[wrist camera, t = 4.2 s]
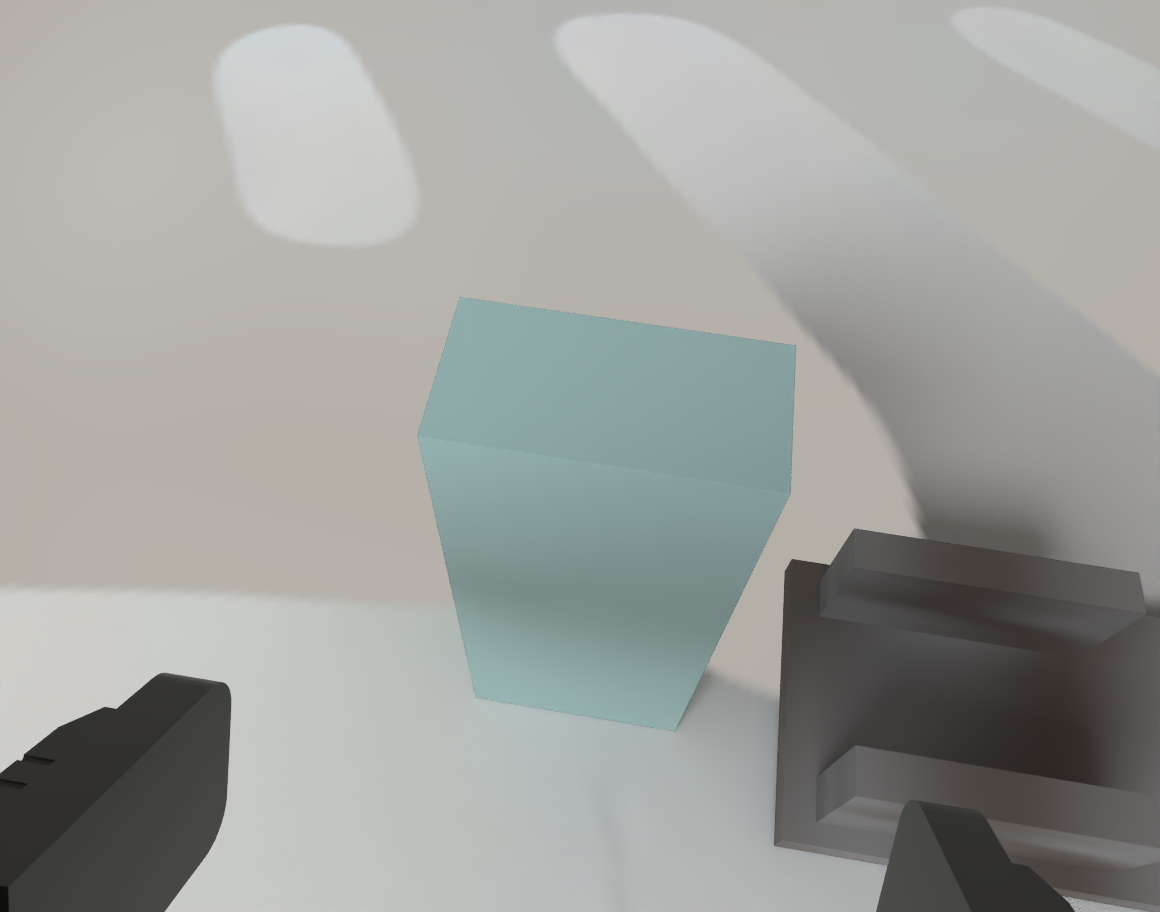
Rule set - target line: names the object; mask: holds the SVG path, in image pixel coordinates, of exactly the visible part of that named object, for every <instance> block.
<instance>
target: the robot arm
mask: <svg viewBox="0 0 1160 912" xmlns="http://www.w3.org/2000/svg"><path fill="white" fill-rule="evenodd" d="M230 720H231V693H230V690H229V687H228V686H227V685H226V684H225V683H223V682H217V681H211V680H205V679H199V678H193V677H187V676H181V675H175V674H169V673H161V674H158V675H157V676H155V677H154V678H153V679H151V680H150V681H149V682H148V683H147V684H145V685H144V686H143V687H142V688H141V689H140V690H138V691H137V692H136V693H135V694H134V695H132V696H131V697H130V698H129V699H128V700H127V701H125V702H124V703H123V704H122V705H121V706H119V707H118V708H117V709H114V708H108V707H104V708H101V709H99V710H97V711H95V712H92V713H90V714H88V715H85V716H83V717H81V718H79V719H76V720H74V721H72V722H69V723H67V724H65V725H63V726H60V727H58V728H57V729H56V730H54V731H53V732H52V733H51V734H49V735H48V736H47V737H46V738H44V739H43V740H42V741H41V742H39V743H38V744H37V745H35V746H34V747H33V748H32V749H30V750H29V751H28V752H27V753H25V754H24V757H23V759H22V761H19V760H17V761H15V762H14V763H13V764H12V765H10V766H9V767H8V768H6V769H5V770H4V771H3V772H1V773H0V912H165V910H166V909H167V908H168V906H169V905H170V904H171V902H172V901H173V899H174V898H175V897H176V895H177V894H178V893H179V891H180V890H181V889H182V887H183V886H184V885H185V883H186V882H187V881H188V879H189V878H190V877H191V875H192V874H193V873H194V871H195V870H196V869H197V867H198V866H199V865H200V863H201V862H202V861H203V859H204V858H205V857H206V855H207V854H208V852H209V850H210V849H211V847H212V845H213V843H214V841H215V839H216V836H217V834H218V832H219V829H220V826H221V823H222V819H223V816H224V812H225V807H226V800H227V784H228V763H229V741H230ZM876 912H1075V911H1074V910H1073V908H1072V907H1071V905H1070V904H1069V902H1068V901H1066V900H1065V899H1064V898H1063V897H1062V896H1061V895H1060V894H1059V893H1058V892H1057V891H1055V890H1054V889H1053V888H1052V887H1051V886H1050V885H1049V884H1048V883H1047V882H1046V881H1044V880H1043V879H1042V878H1041V877H1040V876H1039V875H1038V874H1037V873H1036V872H1035V871H1033V870H1032V869H1031V868H1030V867H1029V866H1026V865H1020V864H1015V863H1012V862H1011V861H1010V859H1009V857H1008V855H1007V854H1006V852H1005V850H1004V849H1003V847H1002V845H1001V844H1000V842H999V840H998V838H997V837H996V835H995V833H994V832H993V830H992V828H991V826H990V825H989V823H988V821H987V820H986V818H985V817H984V815H983V814H982V813H981V812H979V811H977V810H972V809H966V808H960V807H954V806H948V805H942V804H936V803H930V802H924V801H918V800H910V801H908V802H907V803H906V804H905V806H904V808H903V810H902V812H901V815H900V819H899V823H898V827H897V831H896V835H895V839H894V843H893V847H892V851H891V855H890V859H889V863H888V867H887V871H886V875H885V879H884V883H883V887H882V891H881V895H880V899H879V903H878V907H877V911H876Z"/></svg>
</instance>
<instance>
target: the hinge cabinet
mask: <svg viewBox="0 0 1160 912" xmlns="http://www.w3.org/2000/svg"><path fill="white" fill-rule="evenodd" d="M783 607H784V608H783V633H782V634H783V635H782V658H781V684H780V709H779V735H778V760H777V786H776V812H775V838H774V846H779V847H785V848H790V849H796V850H802V851H808V852H813V853H819V854H825V855H830V856H836V857H842V858H848V859H853V860H859V861H865V862H870V863H876V864H882V865H888V863H889V859H890V855H891V851H892V847H893V843H894V839H895V835H896V831H897V827H898V823H899V819H900V815H901V812H902V810H903V808H904V806H905V804H906V803H907V802H908V801H910V800H918V801H924V802H930V803H936V804H942V805H948V806H954V807H960V808H966V809H972V810H977V811H979V812H981V813H982V814H983V815H984V817H985V818H986V820H987V821H988V823H989V825H990V826H991V828H992V830H993V832H994V833H995V835H996V837H997V838H998V840H999V842H1000V844H1001V845H1002V847H1003V849H1004V850H1005V852H1006V854H1007V855H1008V857H1009V859H1010V861H1011V862H1012V863H1015V864H1020V865H1026V866H1029V867H1030V868H1031V869H1032V870H1033V871H1035V872H1036V873H1037V874H1038V875H1039V876H1040V877H1041V878H1042V879H1043V880H1044V881H1046V882H1047V883H1048V884H1049V885H1050V886H1051V887H1052V888H1053V889H1054V890H1055V891H1057V892H1058V893H1059V894H1060V895H1061V896H1065V897H1071V898H1076V899H1082V900H1088V901H1094V902H1099V903H1105V904H1111V905H1116V906H1122V907H1128V908H1134V909H1139V910H1145V911H1151V912H1160V617H1156V616H1150V615H1145V614H1147V612H1146V607H1145V602H1144V596H1143V591H1142V586H1141V581H1140V575H1139V573H1137V572H1130V571H1124V570H1118V569H1111V568H1105V567H1098V566H1092V565H1085V564H1079V563H1072V562H1066V561H1060V560H1053V559H1047V558H1040V557H1034V556H1027V555H1021V554H1015V553H1008V552H1002V551H995V550H989V549H982V548H976V547H969V546H963V545H957V544H950V543H944V542H937V541H931V540H924V539H918V538H911V537H905V536H898V535H892V534H885V533H879V532H873V531H866V530H859V529H854V530H853V531H852V533H851V534H850V536H849V537H848V539H847V541H846V542H845V543H844V545H843V546H842V548H841V550H840V551H839V552H838V554H837V556H836V557H835V559H834V560H833V562H832V563H831V565H826V564H820V563H813V562H807V561H801V560H795V559H792V560H791V561H790V564H789V565H788V567H787V569H786V570H785V582H784V606H783Z"/></svg>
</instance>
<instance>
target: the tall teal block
mask: <svg viewBox="0 0 1160 912" xmlns="http://www.w3.org/2000/svg"><path fill="white" fill-rule="evenodd" d="M795 356H796V346H795V345H788V344H781V343H774V342H767V341H760V340H754V339H747V338H740V337H733V336H726V335H719V334H712V333H705V332H697V331H691V330H684V329H678V328H671V327H663V326H657V325H649V324H643V323H636V322H629V321H622V320H615V319H609V318H602V317H594V316H588V315H581V314H573V313H567V312H560V311H553V310H546V309H539V308H533V307H526V306H518V305H512V304H505V303H498V302H491V301H484V300H477V299H470V298H463V297H460V298H459V301H458V304H457V307H456V311H455V314H454V317H453V320H452V323H451V327H450V330H449V333H448V337H447V340H446V343H445V347H444V350H443V354H442V356H441V359H440V363H439V366H438V369H437V373H436V376H435V379H434V382H433V386H432V389H431V392H430V395H429V399H428V402H427V405H426V409H425V412H424V415H423V418H422V422H421V425H420V428H419V431H418V435H417V437H418V442H419V446H420V451H421V455H422V460H423V464H424V469H425V473H426V478H427V482H428V486H429V491H430V495H431V500H432V505H433V509H434V513H435V518H436V522H437V527H438V531H439V536H440V540H441V545H442V549H443V554H444V558H445V563H446V567H447V572H448V576H449V581H450V584H451V589H452V594H453V598H454V603H455V607H456V612H457V616H458V621H459V625H460V630H461V634H462V639H463V643H464V648H465V652H466V656H467V661H468V665H469V670H470V674H471V679H472V683H473V688H474V692H475V697H476V698H481V699H487V700H493V701H499V702H505V703H511V704H517V705H523V706H529V707H535V708H541V709H546V710H552V711H558V712H564V713H570V714H576V715H582V716H588V717H594V718H600V719H606V720H612V721H618V722H623V723H629V724H635V725H641V726H647V727H653V728H659V729H665V730H671V731H675V730H676V728H677V726H678V724H679V722H680V720H681V717H682V715H683V713H684V711H685V709H686V707H687V705H688V703H689V701H690V699H691V697H692V695H693V693H694V691H695V689H696V687H697V685H698V682H699V680H700V678H701V676H702V674H703V672H704V670H705V668H706V666H707V664H708V662H709V660H710V658H711V656H712V654H713V652H714V650H715V647H716V645H717V643H718V641H719V639H720V637H721V635H722V633H723V631H724V629H725V627H726V625H727V623H728V621H729V619H730V616H731V615H732V613H733V610H734V608H735V606H736V604H737V602H738V600H739V598H740V596H741V594H742V592H743V590H744V588H745V586H746V584H747V582H748V580H749V577H750V576H751V573H752V571H753V569H754V567H755V565H756V563H757V561H758V559H759V557H760V555H761V553H762V551H763V549H764V546H765V545H766V543H767V540H768V538H769V536H770V534H771V532H772V530H773V528H774V526H775V524H776V522H777V520H778V518H779V516H780V514H781V512H782V510H783V507H784V506H785V504H786V501H787V499H788V497H789V495H790V492H791V466H792V437H793V413H794V385H795V358H796V357H795Z"/></svg>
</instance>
